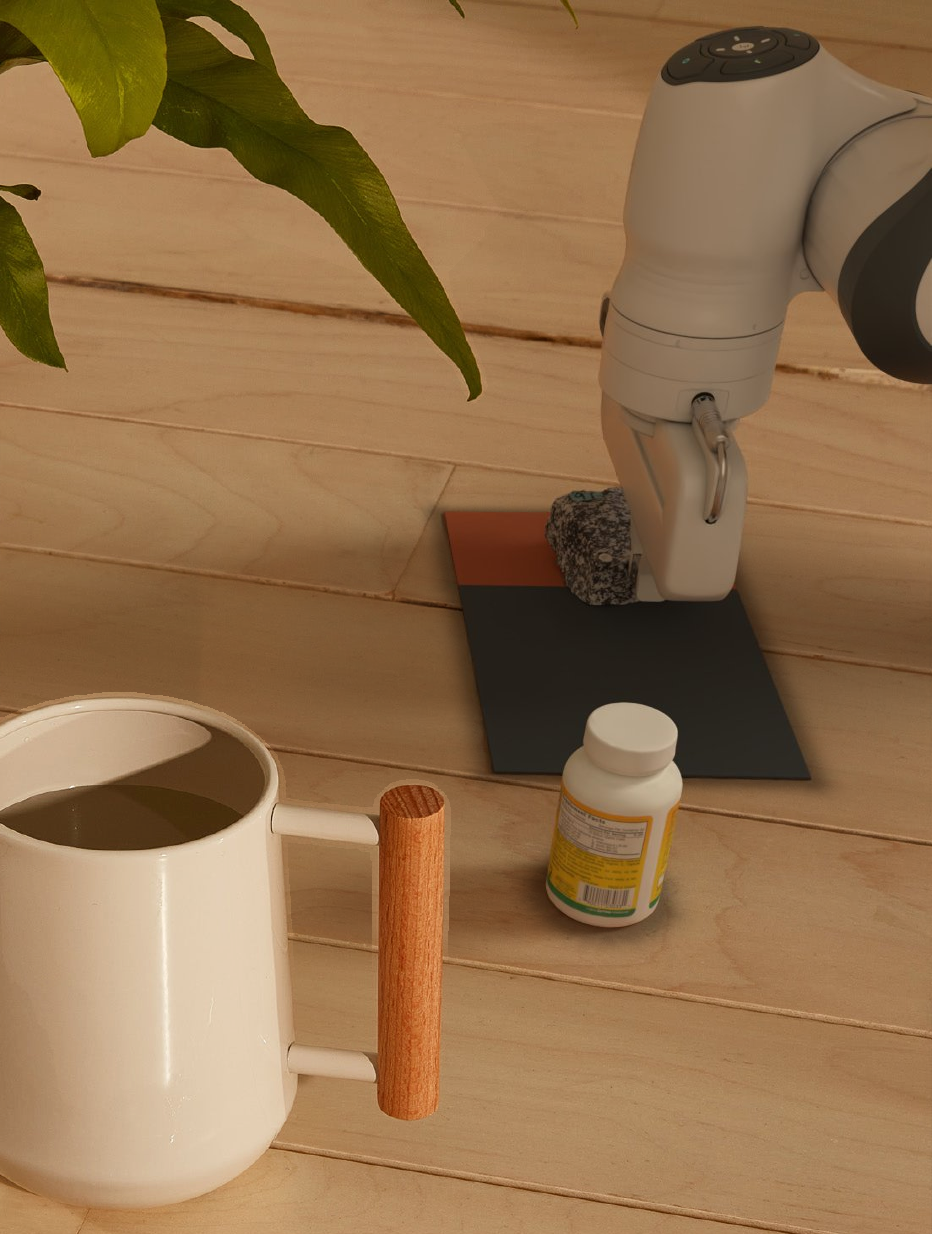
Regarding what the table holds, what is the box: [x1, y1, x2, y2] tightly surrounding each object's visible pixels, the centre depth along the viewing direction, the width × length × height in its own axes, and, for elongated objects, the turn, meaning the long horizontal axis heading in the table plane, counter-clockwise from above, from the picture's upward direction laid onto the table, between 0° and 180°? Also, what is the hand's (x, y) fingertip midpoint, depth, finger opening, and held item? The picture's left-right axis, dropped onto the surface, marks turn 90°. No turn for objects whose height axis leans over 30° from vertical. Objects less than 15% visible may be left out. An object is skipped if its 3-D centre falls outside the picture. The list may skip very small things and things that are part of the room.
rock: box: [545, 486, 640, 605], centre depth 125 cm, size 8×10×4 cm
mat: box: [443, 510, 812, 781], centre depth 121 cm, size 16×28×1 cm, turn 177°
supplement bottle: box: [545, 703, 683, 928], centre depth 99 cm, size 5×5×10 cm
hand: (647, 589), depth 121 cm, fingers closed
